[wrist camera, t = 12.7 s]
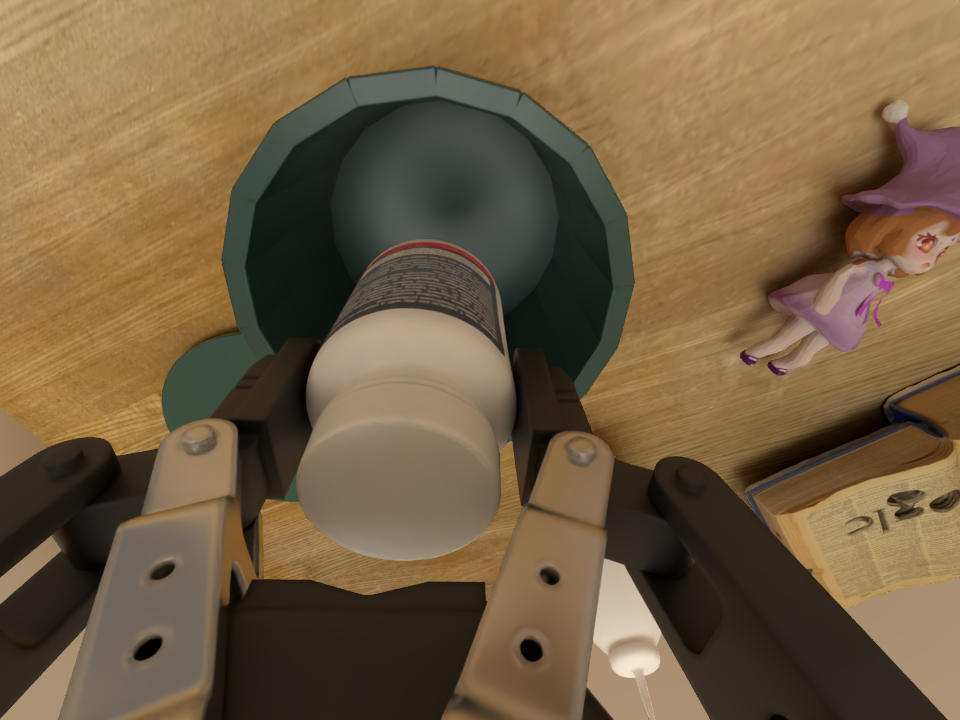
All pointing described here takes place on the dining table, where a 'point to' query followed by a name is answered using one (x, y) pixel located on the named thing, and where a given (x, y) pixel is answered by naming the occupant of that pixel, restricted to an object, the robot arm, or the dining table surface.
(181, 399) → the lid
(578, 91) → the dining table surface
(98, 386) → the dining table surface
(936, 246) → the figurine
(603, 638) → the white rubber bulb blower
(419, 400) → the pill bottle
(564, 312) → the pot
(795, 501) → the book
